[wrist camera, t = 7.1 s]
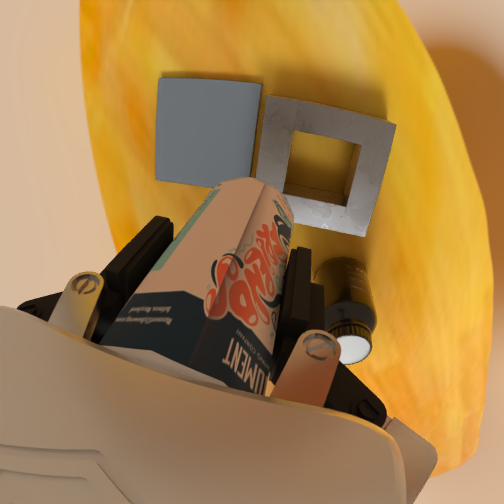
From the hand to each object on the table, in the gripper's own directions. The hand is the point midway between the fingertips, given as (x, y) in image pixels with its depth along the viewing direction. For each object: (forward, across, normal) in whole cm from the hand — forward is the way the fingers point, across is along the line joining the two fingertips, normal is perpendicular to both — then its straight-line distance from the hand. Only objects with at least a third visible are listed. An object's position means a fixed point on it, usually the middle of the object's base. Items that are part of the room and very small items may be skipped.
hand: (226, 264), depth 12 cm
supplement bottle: (+22, -11, +14) cm, 28 cm away
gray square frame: (+21, -4, 0) cm, 22 cm away
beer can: (+5, 0, 0) cm, 5 cm away
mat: (+21, +8, 0) cm, 23 cm away
